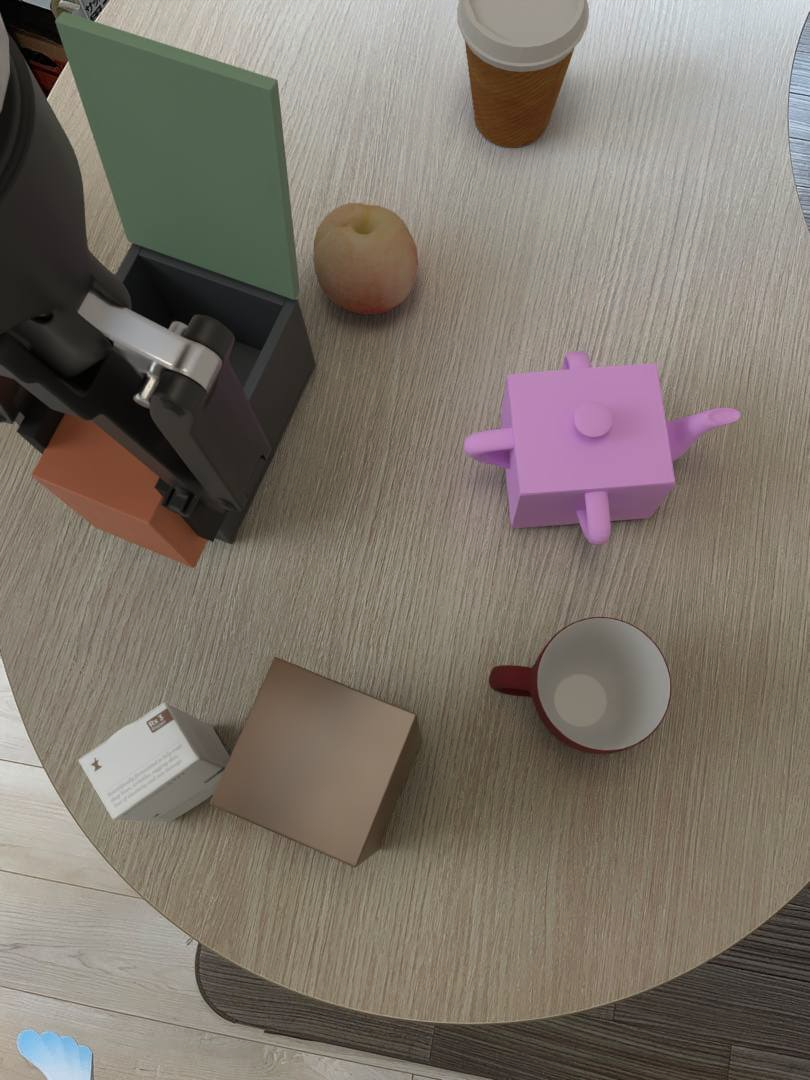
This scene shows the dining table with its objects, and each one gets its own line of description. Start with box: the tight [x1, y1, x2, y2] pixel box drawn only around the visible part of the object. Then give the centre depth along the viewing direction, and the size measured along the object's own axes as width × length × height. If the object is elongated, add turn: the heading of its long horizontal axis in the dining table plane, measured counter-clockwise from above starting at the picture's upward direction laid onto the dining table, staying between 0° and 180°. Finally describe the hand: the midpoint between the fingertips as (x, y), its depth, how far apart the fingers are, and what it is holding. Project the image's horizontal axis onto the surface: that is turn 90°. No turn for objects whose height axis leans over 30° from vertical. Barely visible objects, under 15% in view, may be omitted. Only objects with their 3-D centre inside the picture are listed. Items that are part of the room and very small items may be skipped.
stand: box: [209, 656, 423, 868], centre depth 56 cm, size 8×8×18 cm
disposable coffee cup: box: [456, 0, 590, 148], centre depth 73 cm, size 10×10×12 cm
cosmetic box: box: [77, 701, 231, 823], centre depth 59 cm, size 6×4×12 cm
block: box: [30, 414, 209, 569], centre depth 39 cm, size 5×5×7 cm
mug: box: [488, 616, 672, 755], centre depth 61 cm, size 10×8×10 cm
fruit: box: [313, 202, 419, 315], centre depth 71 cm, size 8×8×8 cm
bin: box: [114, 243, 317, 545], centre depth 67 cm, size 16×13×10 cm
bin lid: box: [54, 11, 301, 300], centre depth 57 cm, size 16×13×1 cm
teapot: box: [463, 350, 741, 546], centre depth 65 cm, size 18×14×10 cm
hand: (159, 486), depth 41 cm, fingers closed on block, 5 cm apart
